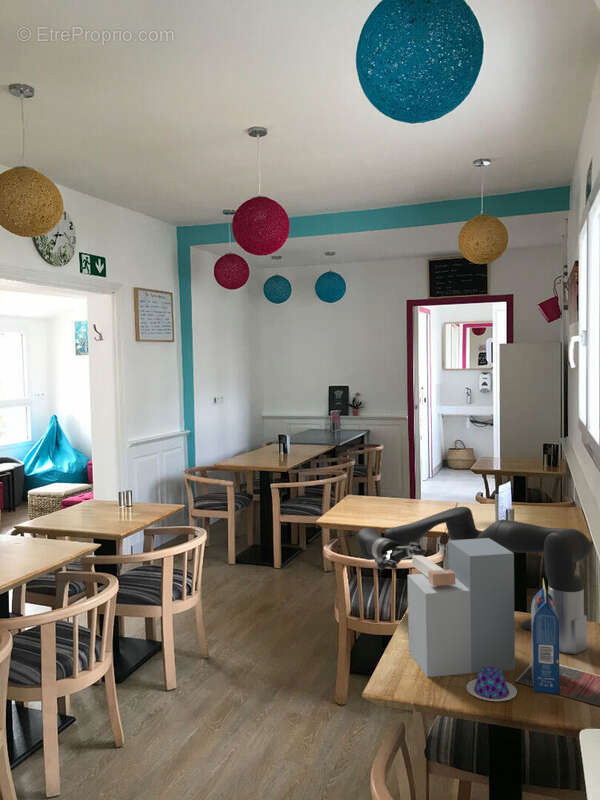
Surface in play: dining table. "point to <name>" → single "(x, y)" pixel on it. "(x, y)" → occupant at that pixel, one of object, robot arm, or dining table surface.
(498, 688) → the pudding
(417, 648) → the riser
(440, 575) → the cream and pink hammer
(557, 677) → the blue food package
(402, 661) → the dining table surface
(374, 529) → the robot arm
